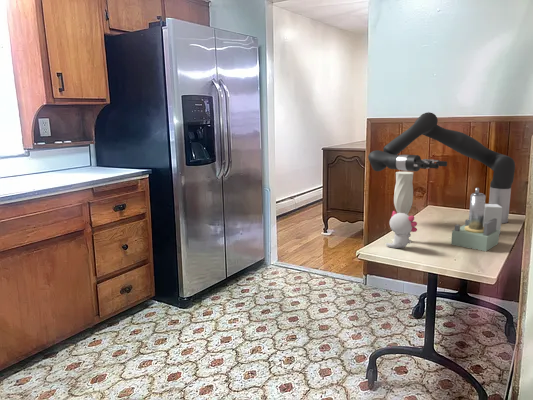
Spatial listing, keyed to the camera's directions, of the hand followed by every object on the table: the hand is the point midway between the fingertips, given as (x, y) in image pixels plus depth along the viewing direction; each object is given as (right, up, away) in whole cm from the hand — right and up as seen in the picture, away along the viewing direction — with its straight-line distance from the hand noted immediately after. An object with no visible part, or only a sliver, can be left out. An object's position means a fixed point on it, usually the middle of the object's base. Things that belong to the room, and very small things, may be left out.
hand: (442, 165), depth 195 cm
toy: (-22, -36, -12) cm, 44 cm away
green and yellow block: (+10, -34, -8) cm, 36 cm away
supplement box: (+25, -30, +9) cm, 41 cm away
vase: (-19, -33, -2) cm, 38 cm away
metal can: (+10, -27, -9) cm, 30 cm away
